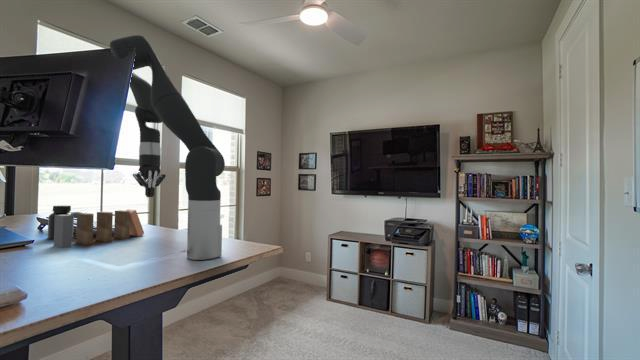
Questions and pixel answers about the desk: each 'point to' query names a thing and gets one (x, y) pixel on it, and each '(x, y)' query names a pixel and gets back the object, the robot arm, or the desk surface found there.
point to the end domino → (63, 231)
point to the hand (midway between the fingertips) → (149, 197)
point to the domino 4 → (135, 224)
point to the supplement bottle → (51, 220)
